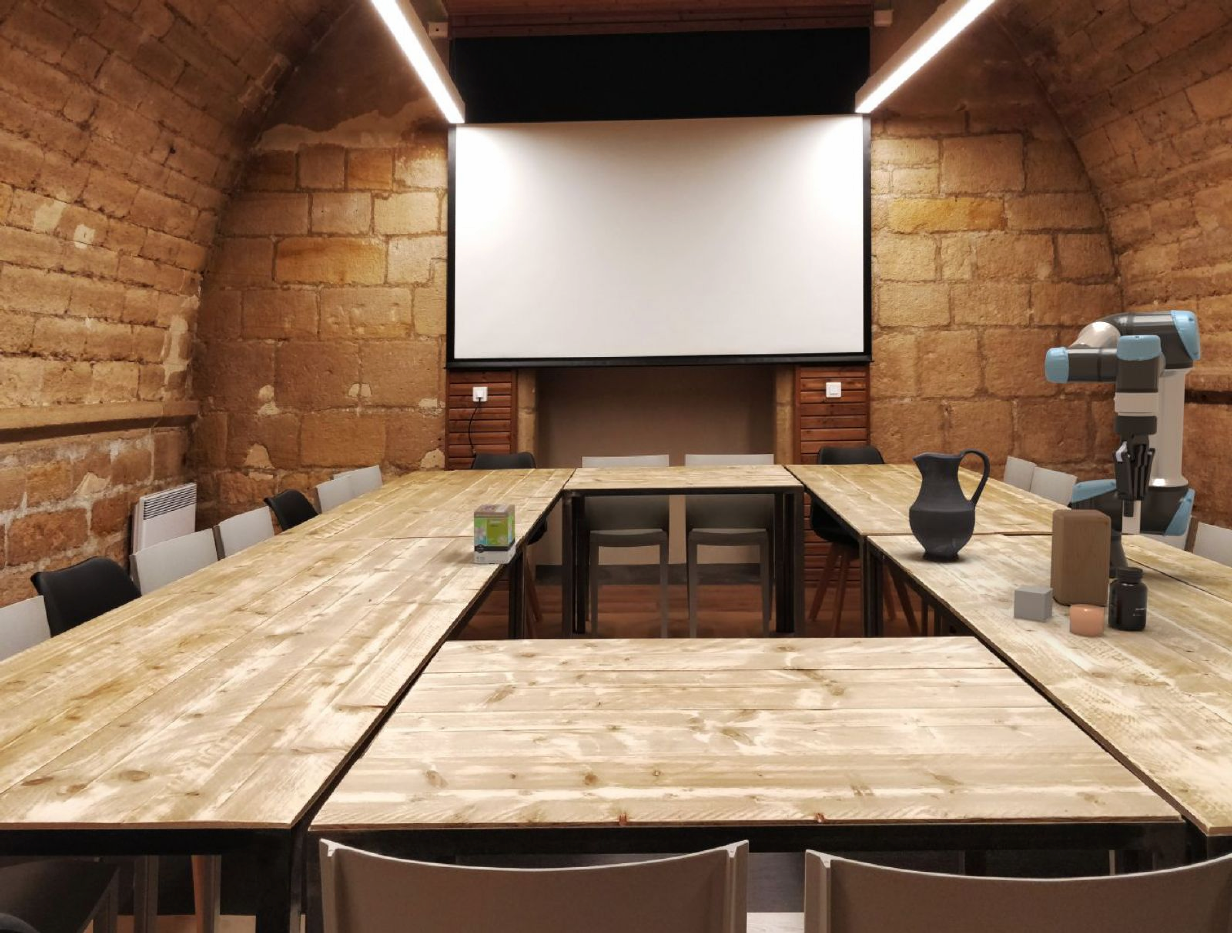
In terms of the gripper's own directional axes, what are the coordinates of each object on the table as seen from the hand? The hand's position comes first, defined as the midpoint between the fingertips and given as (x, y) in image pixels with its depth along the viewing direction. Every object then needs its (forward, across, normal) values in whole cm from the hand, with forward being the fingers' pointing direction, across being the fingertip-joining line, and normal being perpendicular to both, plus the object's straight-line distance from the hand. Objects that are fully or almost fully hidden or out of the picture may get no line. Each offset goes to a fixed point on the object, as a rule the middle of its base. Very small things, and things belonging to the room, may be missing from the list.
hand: (1130, 532), depth 192 cm
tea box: (+20, +64, -144) cm, 159 cm away
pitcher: (+19, -31, -63) cm, 73 cm away
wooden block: (+19, -13, -17) cm, 29 cm away
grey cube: (+19, +7, -16) cm, 26 cm away
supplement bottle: (+19, 0, 0) cm, 19 cm away
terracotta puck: (+19, +10, -3) cm, 22 cm away
